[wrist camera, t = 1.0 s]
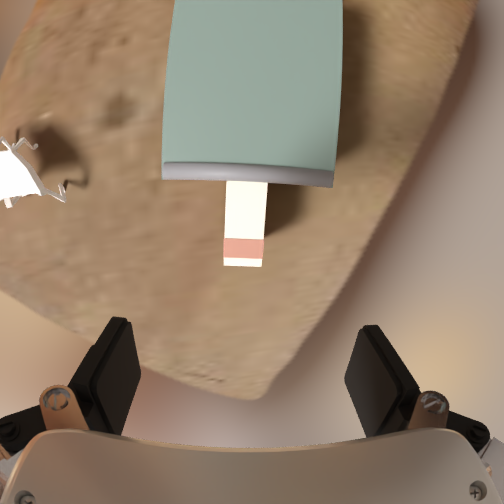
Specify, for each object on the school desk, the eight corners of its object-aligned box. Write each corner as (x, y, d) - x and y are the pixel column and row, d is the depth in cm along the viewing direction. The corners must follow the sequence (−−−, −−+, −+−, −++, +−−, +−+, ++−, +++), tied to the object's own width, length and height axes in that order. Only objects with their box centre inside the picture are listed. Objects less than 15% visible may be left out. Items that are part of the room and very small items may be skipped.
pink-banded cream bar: (232, 104, 23) (230, 97, 19) (267, 106, 23) (274, 99, 19) (225, 243, 28) (223, 265, 23) (258, 244, 28) (261, 266, 24)
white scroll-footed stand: (4, 198, 26) (-21, 208, 21) (11, 131, 23) (-16, 135, 18) (74, 219, 28) (51, 234, 23) (86, 143, 25) (60, 147, 20)
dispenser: (193, 13, 20) (177, -25, 13) (318, 22, 21) (344, -12, 13) (181, 167, 26) (159, 180, 19) (308, 174, 27) (335, 189, 19)
